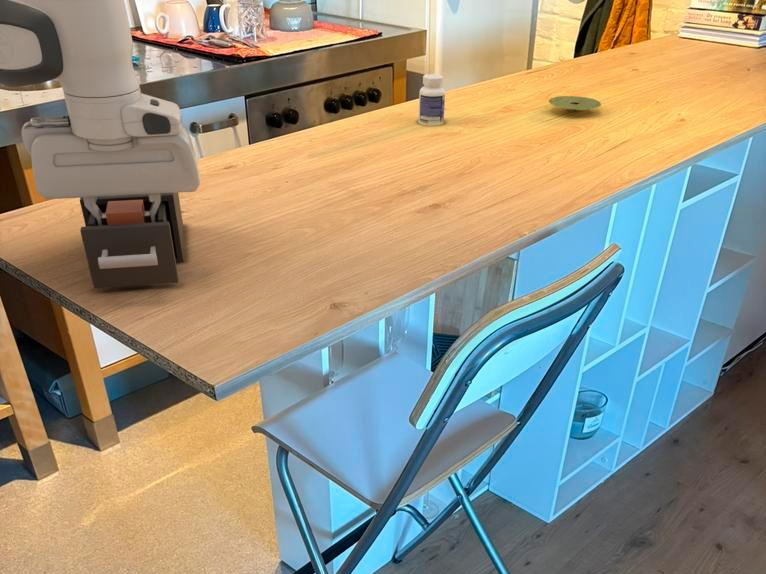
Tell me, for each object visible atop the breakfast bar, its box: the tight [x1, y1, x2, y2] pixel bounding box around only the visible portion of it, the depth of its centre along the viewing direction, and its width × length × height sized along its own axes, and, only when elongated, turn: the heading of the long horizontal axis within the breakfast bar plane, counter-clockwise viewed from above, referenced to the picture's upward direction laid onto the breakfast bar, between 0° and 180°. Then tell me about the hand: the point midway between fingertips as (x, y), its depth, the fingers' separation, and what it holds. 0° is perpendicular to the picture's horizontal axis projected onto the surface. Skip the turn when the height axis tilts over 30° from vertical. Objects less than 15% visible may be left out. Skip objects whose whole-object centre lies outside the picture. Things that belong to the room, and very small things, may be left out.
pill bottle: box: [418, 73, 446, 127], centre depth 166 cm, size 5×5×9 cm
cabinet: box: [79, 193, 185, 264], centre depth 116 cm, size 14×12×10 cm
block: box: [106, 200, 145, 225], centre depth 107 cm, size 4×4×4 cm
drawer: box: [79, 201, 179, 289], centre depth 108 cm, size 17×11×8 cm, turn 11°
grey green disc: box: [548, 95, 602, 113], centre depth 177 cm, size 11×11×2 cm
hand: (128, 227), depth 107 cm, fingers closed on block, 4 cm apart
